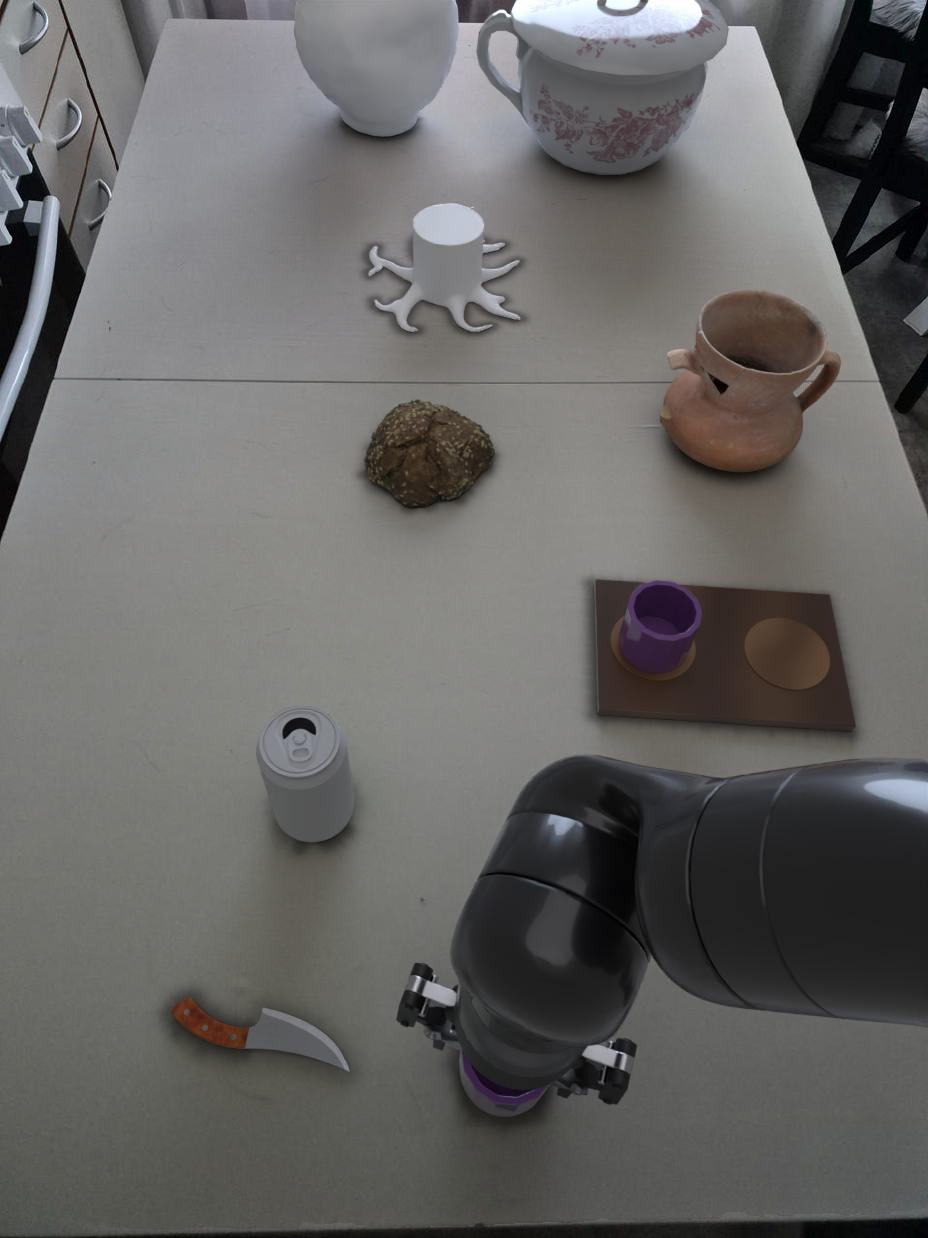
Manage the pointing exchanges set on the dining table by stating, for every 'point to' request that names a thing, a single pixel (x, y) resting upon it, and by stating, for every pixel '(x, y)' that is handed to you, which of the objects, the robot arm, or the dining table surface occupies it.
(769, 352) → the ceramic jug
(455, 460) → the bread roll
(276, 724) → the beverage can
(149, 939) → the dining table surface
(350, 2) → the vase
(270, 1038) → the knife
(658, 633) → the ramekin
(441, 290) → the tree stump
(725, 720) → the serving board
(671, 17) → the chamber pot
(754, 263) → the dining table surface
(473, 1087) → the ramekin
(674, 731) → the dining table surface
